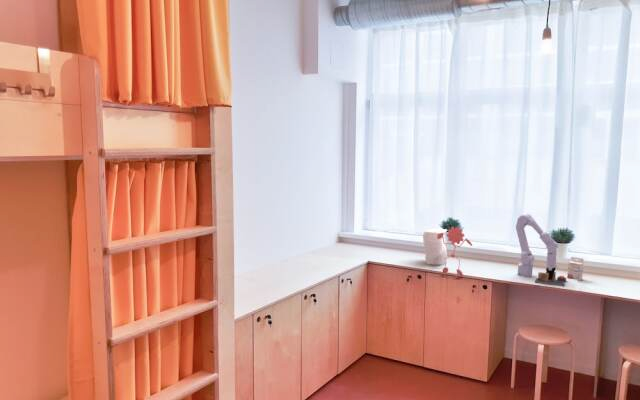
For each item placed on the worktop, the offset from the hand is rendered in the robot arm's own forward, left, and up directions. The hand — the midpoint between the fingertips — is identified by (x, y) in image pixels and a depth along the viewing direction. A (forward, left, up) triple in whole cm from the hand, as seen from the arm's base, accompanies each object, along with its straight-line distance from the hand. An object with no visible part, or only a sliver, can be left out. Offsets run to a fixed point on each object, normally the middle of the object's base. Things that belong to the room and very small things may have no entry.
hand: (550, 278), depth 334 cm
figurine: (-61, -21, -2) cm, 64 cm away
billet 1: (-4, -10, -1) cm, 11 cm away
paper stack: (-85, +8, -2) cm, 85 cm away
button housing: (+7, 0, -2) cm, 7 cm away
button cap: (+7, 0, 0) cm, 7 cm away
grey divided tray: (0, -10, -2) cm, 11 cm away
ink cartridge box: (+14, +16, -2) cm, 21 cm away
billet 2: (0, 0, -2) cm, 2 cm away
